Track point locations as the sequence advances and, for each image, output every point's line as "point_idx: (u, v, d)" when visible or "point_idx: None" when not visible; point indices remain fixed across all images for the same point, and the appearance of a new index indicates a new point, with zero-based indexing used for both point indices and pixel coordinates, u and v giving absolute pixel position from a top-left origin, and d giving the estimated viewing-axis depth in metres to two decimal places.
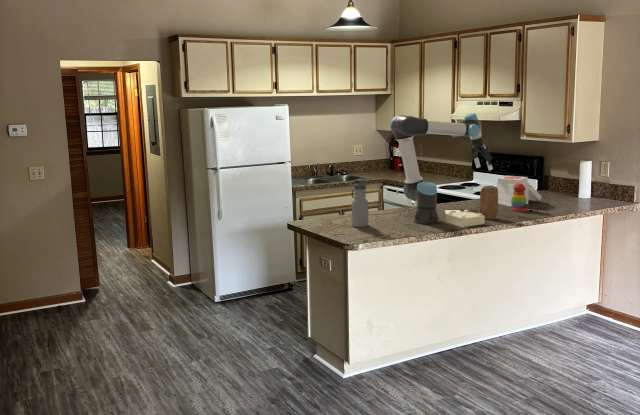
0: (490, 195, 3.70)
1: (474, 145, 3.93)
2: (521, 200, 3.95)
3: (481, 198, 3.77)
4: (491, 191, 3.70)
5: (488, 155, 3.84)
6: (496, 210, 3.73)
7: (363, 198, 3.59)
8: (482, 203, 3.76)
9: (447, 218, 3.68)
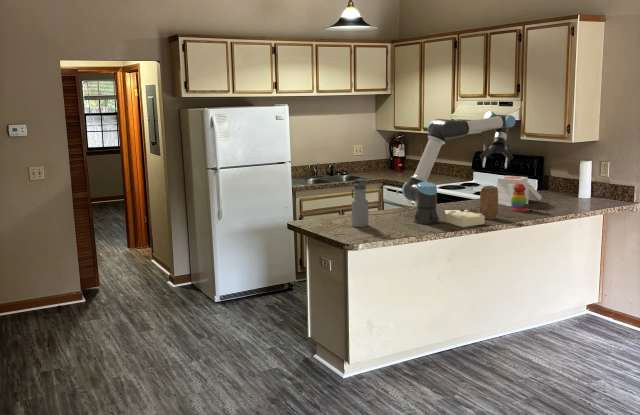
0: (490, 195, 3.70)
1: (494, 145, 3.93)
2: (521, 200, 3.95)
3: (481, 198, 3.77)
4: (491, 191, 3.70)
5: (511, 154, 3.86)
6: (496, 210, 3.73)
7: (363, 198, 3.59)
8: (482, 203, 3.76)
9: (447, 218, 3.68)
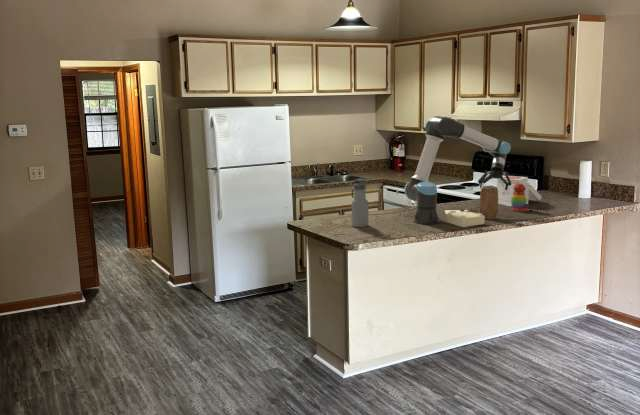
0: (490, 195, 3.70)
1: (492, 171, 3.89)
2: (521, 200, 3.95)
3: (481, 198, 3.77)
4: (491, 191, 3.70)
5: (509, 180, 3.81)
6: (496, 210, 3.73)
7: (363, 198, 3.59)
8: (482, 203, 3.76)
9: (447, 218, 3.68)
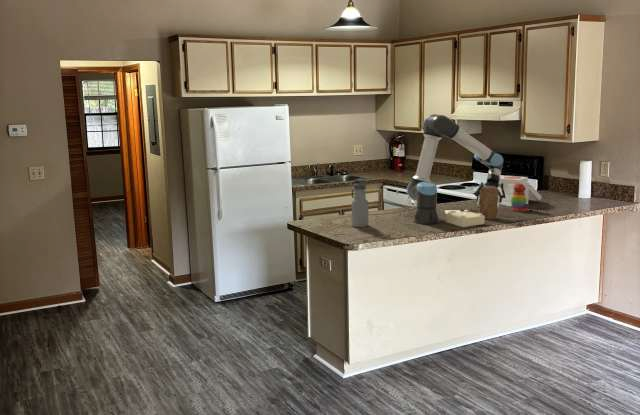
0: (490, 195, 3.70)
1: (487, 182, 3.83)
2: (521, 200, 3.95)
3: (481, 198, 3.77)
4: (491, 191, 3.70)
5: (504, 192, 3.75)
6: (496, 210, 3.73)
7: (363, 198, 3.59)
8: (482, 203, 3.76)
9: (447, 218, 3.68)
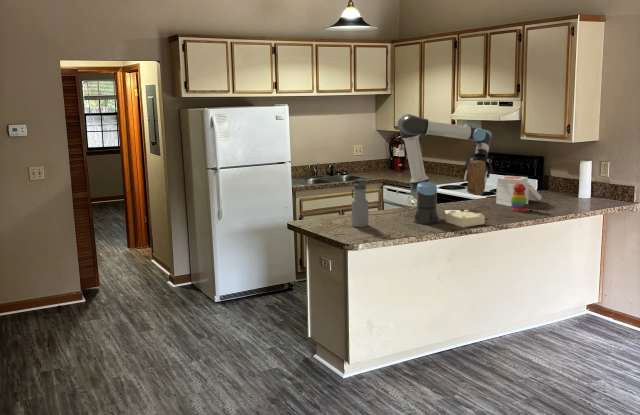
0: (477, 169, 3.60)
1: (475, 157, 3.72)
2: (521, 200, 3.95)
3: (468, 173, 3.66)
4: (478, 165, 3.59)
5: None
6: (483, 185, 3.63)
7: (363, 198, 3.59)
8: (469, 178, 3.66)
9: (447, 218, 3.68)
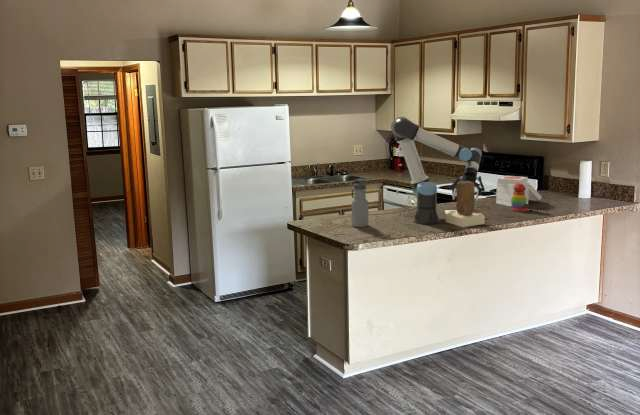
0: (466, 190, 3.59)
1: (465, 176, 3.71)
2: (521, 200, 3.95)
3: (457, 193, 3.66)
4: (467, 186, 3.59)
5: None
6: (472, 206, 3.62)
7: (363, 198, 3.59)
8: (458, 198, 3.65)
9: (447, 218, 3.68)
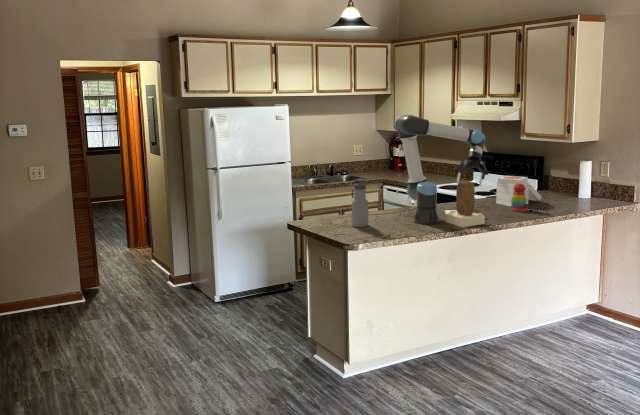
0: (466, 190, 3.59)
1: (469, 160, 3.77)
2: (521, 200, 3.95)
3: (457, 193, 3.66)
4: (467, 186, 3.59)
5: (486, 169, 3.69)
6: (472, 206, 3.62)
7: (363, 198, 3.59)
8: (458, 199, 3.65)
9: (447, 218, 3.68)
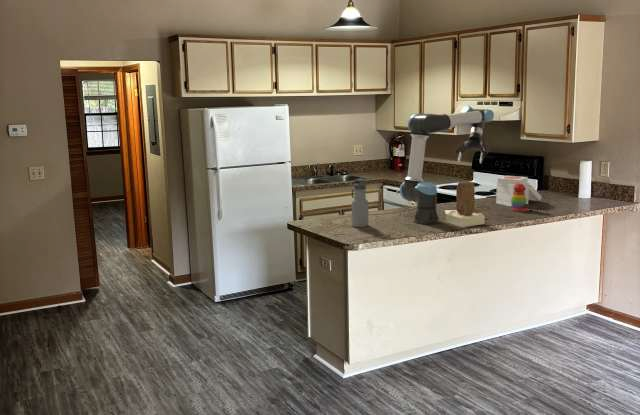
0: (466, 190, 3.59)
1: (469, 140, 3.92)
2: (521, 200, 3.95)
3: (457, 193, 3.66)
4: (467, 186, 3.59)
5: (486, 149, 3.85)
6: (472, 206, 3.62)
7: (363, 198, 3.59)
8: (458, 199, 3.65)
9: (447, 218, 3.68)
